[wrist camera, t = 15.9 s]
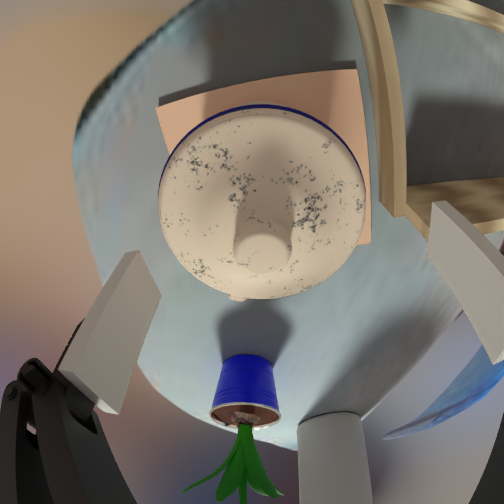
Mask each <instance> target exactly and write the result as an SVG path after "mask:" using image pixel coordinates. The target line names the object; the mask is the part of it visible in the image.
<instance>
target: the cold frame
mask: <svg viewBox="0 0 504 504" xmlns="http://www.w3.org/2000/svg"><path fill="white" fill-rule="evenodd" d="M351 2H352V5H353V9H354V12H355V16H356V20H357V24H358V28H359V32H360V36H361V41H362V45H363V50H364V55H365V60H366V65H367V70H368V76H369V82H370V89H371V95H372V103H373V111H374V119H375V129H376V140H377V153H378V171H379V201H380V202H381V203H382V204H383V206H384V207H385V208H386V209H387V210H388V211H389V213H390V214H391V215H392V216H393V217H394V218H395V217H401V216H406V217H407V218H408V219H409V220H410V222H411V223H412V224H413V225H414V226H415V227H416V229H417V230H418V231H419V232H420V233H421V234H422V236H423V237H424V238H425V239H426V240H427V242H428V238H429V230H430V221H431V210H432V202H436V201H444V200H446V201H447V202H448V203H449V204H450V205H452V206H453V207H454V208H455V209H456V210H457V211H458V212H460V213H461V214H462V215H463V216H464V217H465V218H466V219H467V220H468V221H469V222H470V223H472V224H473V225H474V226H475V227H476V228H477V229H478V230H479V231H480V232H481V233H482V234H488V233H493V232H497V231H502V230H504V177H498V178H484V179H471V180H459V181H448V182H438V183H429V184H419V185H410V186H406V183H407V169H406V137H405V122H404V111H403V101H402V92H401V85H400V78H399V71H398V65H397V59H396V54H395V49H394V44H393V39H392V35H391V30H390V26H389V22H388V18H387V14H386V11H385V7H384V4H391V5H399V6H406V7H412V8H418V9H424V10H429V11H434V12H438V13H442V14H446V15H450V16H454V17H458V18H461V19H465V20H468V21H471V22H474V23H478V24H480V25H483V26H486V27H489V28H492V29H494V30H497V31H499V32H502V33H504V15H502V14H500V13H498V12H496V11H493V10H491V9H489V8H486V7H484V6H481V5H479V4H476V3H473V2H471V1H468V0H351Z"/></svg>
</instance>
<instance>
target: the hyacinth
mask: <svg viewBox="0 0 504 504" xmlns="http://www.w3.org/2000/svg"><path fill="white" fill-rule="evenodd" d="M209 415H210V417H211V419H212V420H213V421H215V422H216V423H218V424H220V425H223V426H226V427H230V428H235V429H238V435H237V439H236V441H235V444H234V446H233V448H232V450H231V451H230V453H229V455H228V457H227V458H226V459H225V461H224V462H223V463H222V465H220V467H219V468H218V469H216V470H215V471H214V472H213V473H212V474H210V475H208V476H207V477H205V478H203V479H202V480H200V481H198V482H196V483H194V484H193V485H191V486H189V487H188V488H186V489H185V490H184V491H182V493H184V492H186V491H188V490H189V489H191V488H193V487H195V486H197V485H199V484H201V483H203V482H205V481H207V480H209V479H211V478H212V477H214V476H216V475H217V474H218V473H220V472H221V471H222V470H223V469H224V468H225V467H226V466H227V464H228V466H227V468H226V470H225V472H224V475H223V477H222V479H221V481H220V484H219V486H218V488H217V491H216V501H217V502H221V501H223V500H224V499H225V498H226V497H227V496H229V495H231V494H232V493H233V492H234V491H235V490H236V488H237V487H238V485H239V497H240V498H239V499H240V504H247V493H246V491H247V490H246V484H247V483H248V484H249V486H250V487H251V488H252V489H253V490H255V491H256V492H258V493H260V494H262V495H266V496H270V497H272V498H277V497H278V496H277V493H278V494H281V495H285V494H283V493H281V492H280V491H279V490H278V489H276V487H275V486H274V485H273V484H272V483H271V481H270V479H269V478H268V476H267V474H266V471H265V469H264V467H263V464H262V461H261V459H260V456H259V453H258V451H257V449H256V446H255V444H254V439H253V434H252V429H262V428H266V427H270V426H273V425H275V424H276V423H278V422H279V421H280V419H281V414H280V412H279V406H278V401H277V395H276V388H275V382H274V377H273V370H272V365H271V363H270V362H269V361H268V360H266V359H264V358H262V357H259V356H256V355H248V354H244V355H236V356H232V357H230V358H228V359H227V360H226V361H225V362H224V363H223V366H222V370H221V374H220V378H219V381H218V385H217V389H216V393H215V397H214V400H213V404H212V408H211V410H210V412H209Z"/></svg>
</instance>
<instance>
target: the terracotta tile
mask: <svg viewBox="0 0 504 504" xmlns="http://www.w3.org/2000/svg"><path fill="white" fill-rule="evenodd" d="M254 101H270V102H276V103H279V104H283V105H285V106H288V107H290V108H293V109H296V110H299V111H302V112H304V113H306V114H309V115H311V116H313V117H315V118H316V119H318V120H320V121H322V122H323V123H324V124H326V125H327V126H329V127H330V128H331V129H332V130H333V131H335V132H336V133H337V134H338V135H339V136H340V137H341V138H342V139H343V141H344V142H345V143H346V144H347V145H348V147H349V148H350V150H351V151H352V153H353V154H354V156H355V158H356V160H357V162H358V164H359V166H360V169H361V171H362V175H363V178H364V183H365V188H366V216H365V222H364V226H363V229H362V232H361V235H360V238H359V240H358V242H357V244H356V245H361V244H367V243H371V200H370V176H369V160H368V147H367V136H366V127H365V118H364V110H363V103H362V96H361V90H360V83H359V77H358V72H357V69H347V70H331V71H319V72H309V73H301V74H293V75H286V76H279V77H273V78H267V79H262V80H256V81H251V82H246V83H241V84H237V85H232V86H228V87H224V88H220V89H216V90H212V91H208V92H205V93H201V94H197V95H194V96H191V97H187V98H184V99H181V100H178V101H174V102H171V103H168V104H165V105H163V106H160V107H157V108H156V112H157V115H158V119H159V122H160V125H161V129H162V132H163V135H164V138H165V142H166V145H167V148H168V151H169V155H170V154H171V153H172V151H173V150H174V148H175V147H176V145H177V144H178V143H179V142H180V140H181V139H182V138H183V137H184V136H185V135H186V134H187V133H188V132H189V131H190V130H192V129H193V128H194V127H195V126H197V125H198V124H199V123H201V122H202V121H204V120H206V119H207V118H209V117H211V116H213V115H215V114H217V113H219V112H222V111H225V110H228V109H231V108H233V107H235V106H238V105H241V104H244V103H248V102H254Z"/></svg>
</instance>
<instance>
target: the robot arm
mask: <svg viewBox="0 0 504 504" xmlns="http://www.w3.org/2000/svg"><path fill="white" fill-rule="evenodd" d="M426 255H427V256H428V258H429V259H430V260H431V262H432V263H433V265H434V266H435V268H436V269H437V270H438V272H439V273H440V275H441V276H442V278H443V279H444V281H445V282H446V284H447V285H448V287H449V288H450V290H451V291H452V293H453V294H454V296H455V297H456V299H457V301H458V302H459V304H460V305H461V307H462V309H463V310H464V312H465V314H466V315H467V317H468V319H469V320H470V322H471V324H472V326H473V327H474V329H475V331H476V333H477V335H478V336H479V338H480V340H481V342H482V344H483V346H484V348H485V350H486V352H487V354H488V356H489V358H490V360H491V362H492V364H493V365H494V364H496V363H498V362H500V361H502V360H504V253H502V252H501V253H500V252H499V251H498V249H497V248H496V247H495V246H494V245H493V244H492V243H491V242H490V241H489V240H488V239H487V238H486V237H485V236H484V235H483V234H482V233H481V232H480V231H479V230H478V229H477V228H476V227H475V226H474V225H473V224H472V223H470V222H469V221H468V220H467V219H466V218H465V217H464V216H463V215H462V214H461V213H460V212H458V211H457V210H456V209H455V208H454V207H453V206H452V205H450V204H449V203H448V202H447V201H446V200H444V201H436V202H432V210H431V221H430V230H429V238H428V245H427V252H426ZM161 296H162V295H161V293H160V291H159V290H158V288H157V286H156V284H155V282H154V280H153V278H152V276H151V274H150V272H149V270H148V268H147V266H146V264H145V262H144V259H143V257H142V255H141V253H140V251H139V250H137V251H132V252H127V253H125V255H124V256H123V258H122V259H121V261H120V262H119V264H118V265H117V267H116V268H115V270H114V271H113V273H112V274H111V276H110V277H109V279H108V281H107V282H106V284H105V285H104V287H103V289H102V290H101V292H100V293H99V295H98V297H97V299H96V300H95V302H94V303H93V305H92V307H91V309H90V310H89V312H88V314H87V316H86V317H85V318H84V319H83V321H82V322H80V324H79V325H78V326H77V328H76V329H75V331H74V333H73V335H72V337H71V338H70V340H69V342H68V345H67V346H66V348H65V350H64V352H63V353H62V356H61V357H60V359H59V361H58V363H57V365H56V367H55V369H54V371H53V373H52V372H51V371H50V370H49V369H48V368H47V367H46V366H45V365H44V364H43V363H42V362H41V361H40V360H39V359H37V358H32V359H29V360H28V361H27V362H25V363H24V364H23V366H22V367H21V368H20V370H19V373H18V376H17V380H16V381H12V382H11V383H9V384H8V385H7V386H6V389H5V390H4V394H3V398H2V403H1V411H0V504H137V503H136V501H135V499H134V497H133V495H132V493H131V491H130V490H129V488H128V486H127V484H126V482H125V480H124V478H123V476H122V474H121V472H120V469H119V468H118V465H117V463H116V461H115V459H114V456H113V454H112V452H111V449H110V447H109V445H108V442H107V439H106V437H105V434H104V432H103V429H102V426H101V424H100V421H99V418H98V415H97V414H96V412H95V411H94V410H93V408H94V405H96V406H98V407H99V408H100V409H101V410H102V411H104V412H108V413H113V414H120V410H121V407H122V404H123V401H124V398H125V395H126V391H127V388H128V385H129V382H130V379H131V376H132V373H133V371H134V368H135V364H136V362H137V359H138V356H139V354H140V351H141V348H142V345H143V343H144V340H145V337H146V334H147V332H148V329H149V327H150V324H151V321H152V319H153V316H154V314H155V311H156V308H157V306H158V303H159V301H160V298H161ZM27 423H28V424H29V425H31V426H32V427H33V428H35V429H36V435H34V434H32V433H31V432H30V431H28V430H27ZM469 504H504V413H503V417H502V421H501V424H500V428H499V431H498V434H497V438H496V440H495V443H494V446H493V449H492V452H491V455H490V458H489V460H488V463H487V465H486V468H485V470H484V473H483V475H482V477H481V479H480V482H479V484H478V486H477V488H476V490H475V492H474V494H473V496H472V498H471V500H470V502H469Z"/></svg>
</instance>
